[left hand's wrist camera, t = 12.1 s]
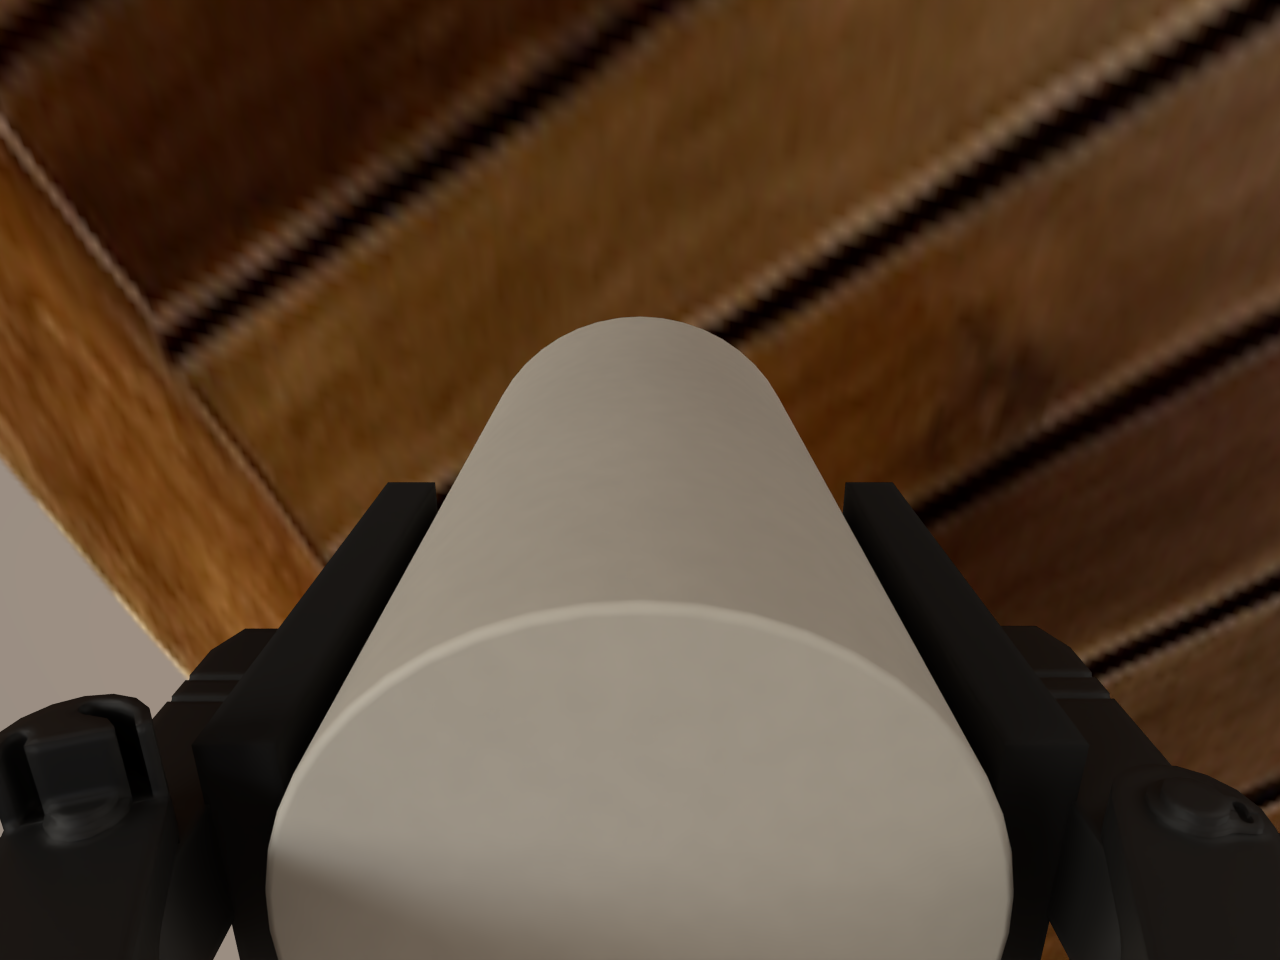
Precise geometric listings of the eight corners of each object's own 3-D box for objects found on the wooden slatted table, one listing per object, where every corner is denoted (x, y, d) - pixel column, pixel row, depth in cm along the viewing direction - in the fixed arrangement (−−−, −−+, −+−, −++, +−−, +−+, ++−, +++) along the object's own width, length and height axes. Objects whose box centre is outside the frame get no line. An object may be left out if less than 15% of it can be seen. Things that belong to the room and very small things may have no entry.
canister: (495, 603, 20) (313, 1174, 9) (477, 315, 17) (197, 602, 6) (783, 605, 20) (961, 1175, 9) (804, 316, 17) (1084, 606, 6)
